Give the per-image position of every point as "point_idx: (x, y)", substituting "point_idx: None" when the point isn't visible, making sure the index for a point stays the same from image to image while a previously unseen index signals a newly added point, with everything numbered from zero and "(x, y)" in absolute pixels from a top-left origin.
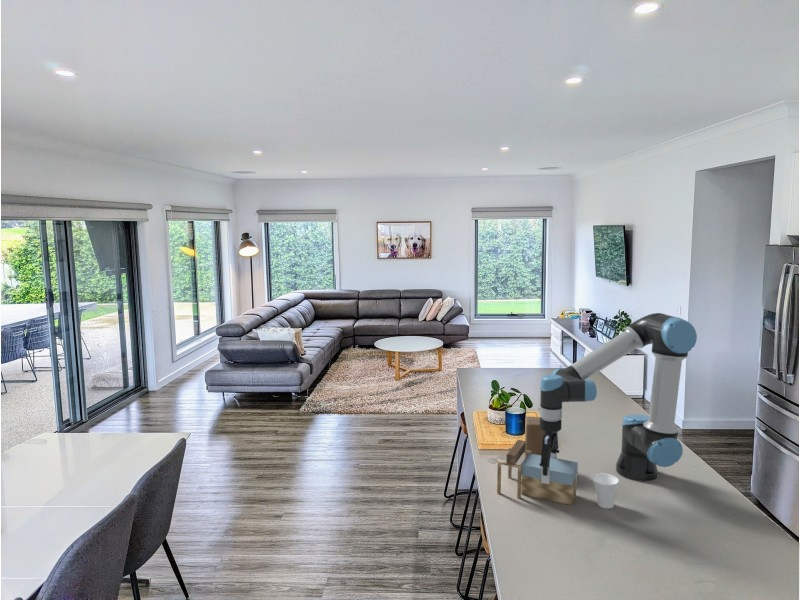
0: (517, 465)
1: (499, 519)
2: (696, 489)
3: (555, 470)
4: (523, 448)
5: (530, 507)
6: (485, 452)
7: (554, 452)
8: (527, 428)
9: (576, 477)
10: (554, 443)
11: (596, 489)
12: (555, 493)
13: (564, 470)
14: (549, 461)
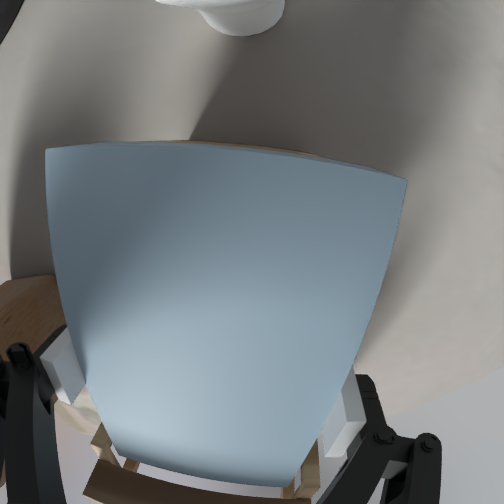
0: (310, 493)
1: (444, 381)
2: None
3: (339, 354)
4: (130, 491)
5: (372, 325)
6: (69, 421)
7: (44, 377)
8: (5, 476)
9: (153, 141)
10: (41, 491)
11: (263, 4)
12: None
13: (315, 273)
14: (363, 464)
